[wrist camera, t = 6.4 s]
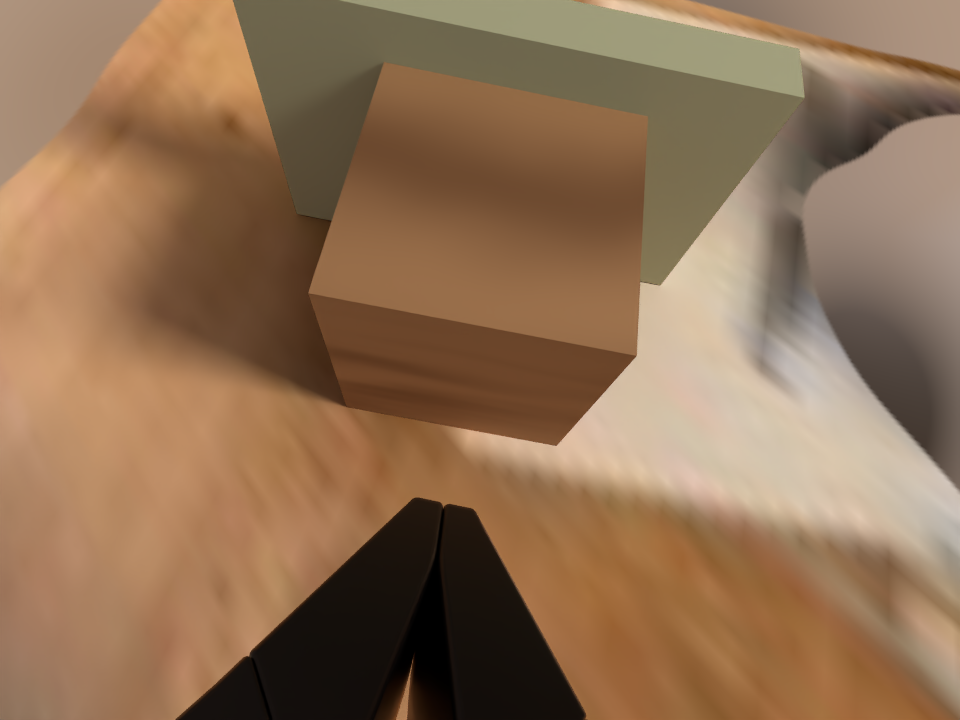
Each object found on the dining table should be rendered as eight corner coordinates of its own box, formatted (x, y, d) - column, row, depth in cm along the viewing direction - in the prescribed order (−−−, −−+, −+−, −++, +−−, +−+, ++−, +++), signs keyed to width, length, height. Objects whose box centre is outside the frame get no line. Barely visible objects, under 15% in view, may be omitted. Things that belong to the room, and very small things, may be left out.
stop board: (660, 285, 25) (804, 97, 16) (296, 213, 24) (225, -24, 15) (661, 247, 26) (799, 49, 16) (309, 178, 25) (250, -69, 16)
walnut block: (556, 446, 21) (636, 355, 14) (346, 407, 21) (307, 292, 13) (574, 270, 25) (647, 116, 17) (393, 234, 24) (383, 62, 17)
